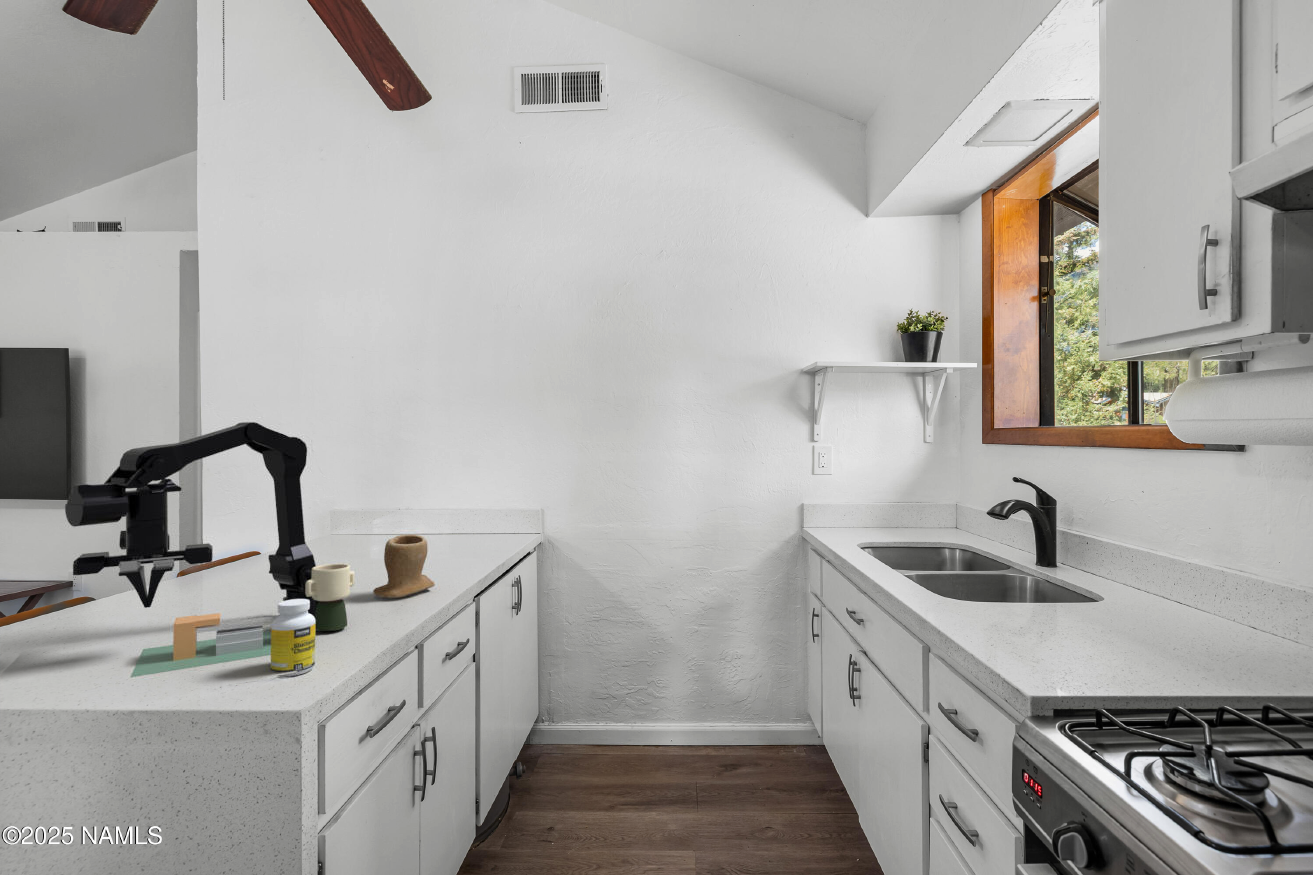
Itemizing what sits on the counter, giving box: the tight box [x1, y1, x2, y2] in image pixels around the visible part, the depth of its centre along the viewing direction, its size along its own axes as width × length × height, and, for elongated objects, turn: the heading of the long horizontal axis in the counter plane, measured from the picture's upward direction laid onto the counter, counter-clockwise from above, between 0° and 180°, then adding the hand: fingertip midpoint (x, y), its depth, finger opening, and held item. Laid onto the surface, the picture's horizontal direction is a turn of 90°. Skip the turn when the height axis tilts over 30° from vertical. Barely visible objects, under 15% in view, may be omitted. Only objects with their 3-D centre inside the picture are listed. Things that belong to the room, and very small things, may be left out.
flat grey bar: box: [196, 614, 279, 634], centre depth 114 cm, size 14×4×1 cm, turn 124°
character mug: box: [306, 563, 355, 633], centre depth 128 cm, size 11×7×13 cm, turn 155°
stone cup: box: [372, 533, 435, 599], centre depth 158 cm, size 15×12×15 cm
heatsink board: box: [130, 626, 271, 678], centre depth 113 cm, size 23×16×6 cm
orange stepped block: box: [172, 612, 221, 661], centre depth 111 cm, size 6×5×6 cm
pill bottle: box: [270, 599, 316, 678], centre depth 105 cm, size 6×6×12 cm
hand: (147, 607), depth 110 cm, fingers closed
